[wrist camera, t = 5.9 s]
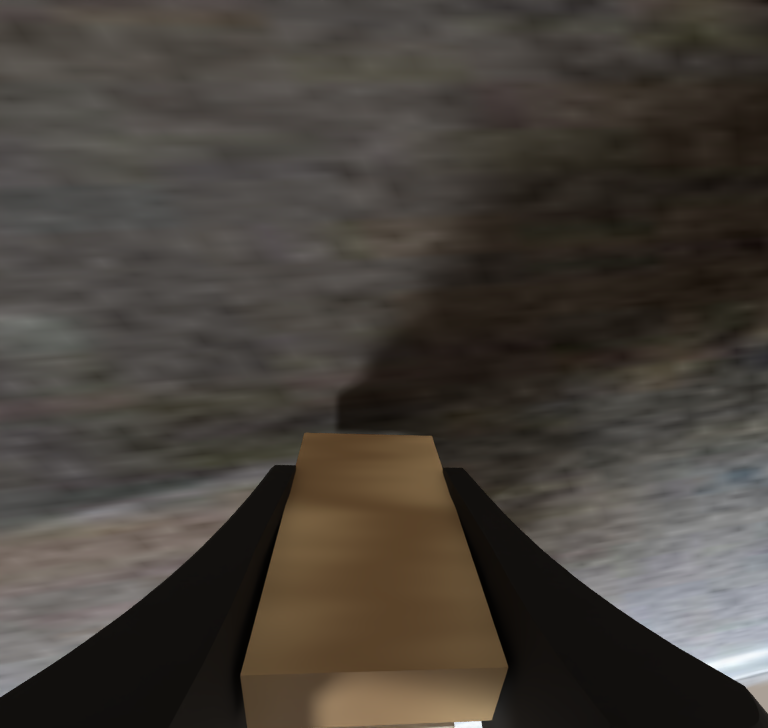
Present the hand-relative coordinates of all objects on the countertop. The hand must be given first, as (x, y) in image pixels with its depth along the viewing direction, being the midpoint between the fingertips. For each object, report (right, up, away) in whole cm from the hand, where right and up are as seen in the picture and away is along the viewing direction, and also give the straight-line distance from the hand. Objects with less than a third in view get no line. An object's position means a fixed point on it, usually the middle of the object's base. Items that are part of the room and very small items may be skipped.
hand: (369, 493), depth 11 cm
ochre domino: (0, +1, +2) cm, 2 cm away
